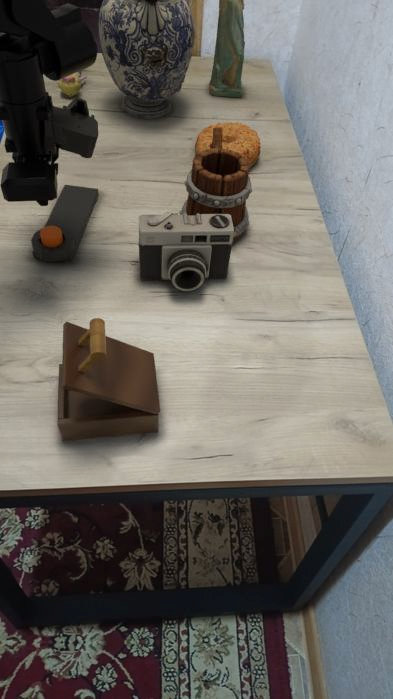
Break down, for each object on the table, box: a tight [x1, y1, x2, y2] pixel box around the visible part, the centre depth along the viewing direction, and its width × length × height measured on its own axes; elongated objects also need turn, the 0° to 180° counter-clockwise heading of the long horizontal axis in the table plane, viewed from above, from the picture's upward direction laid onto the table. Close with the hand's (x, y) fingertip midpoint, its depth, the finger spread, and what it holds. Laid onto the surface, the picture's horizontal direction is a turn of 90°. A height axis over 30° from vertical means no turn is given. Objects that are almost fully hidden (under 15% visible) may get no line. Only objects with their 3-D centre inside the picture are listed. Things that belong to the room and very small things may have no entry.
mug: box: [178, 127, 253, 242], centre depth 80 cm, size 12×14×15 cm
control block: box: [30, 184, 100, 263], centre depth 80 cm, size 20×6×3 cm, turn 173°
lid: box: [61, 317, 161, 414], centre depth 54 cm, size 12×8×5 cm
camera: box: [138, 211, 234, 292], centre depth 72 cm, size 14×9×10 cm, turn 88°
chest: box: [56, 363, 160, 442], centre depth 60 cm, size 11×8×4 cm
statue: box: [209, 0, 246, 98], centre depth 104 cm, size 7×8×25 cm
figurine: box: [58, 71, 88, 97], centre depth 110 cm, size 6×4×15 cm
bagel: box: [194, 121, 262, 169], centre depth 96 cm, size 13×14×5 cm
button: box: [40, 226, 63, 248], centre depth 75 cm, size 3×3×2 cm
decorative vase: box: [98, 0, 196, 120], centre depth 96 cm, size 21×19×28 cm
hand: (44, 204), depth 70 cm, fingers closed
